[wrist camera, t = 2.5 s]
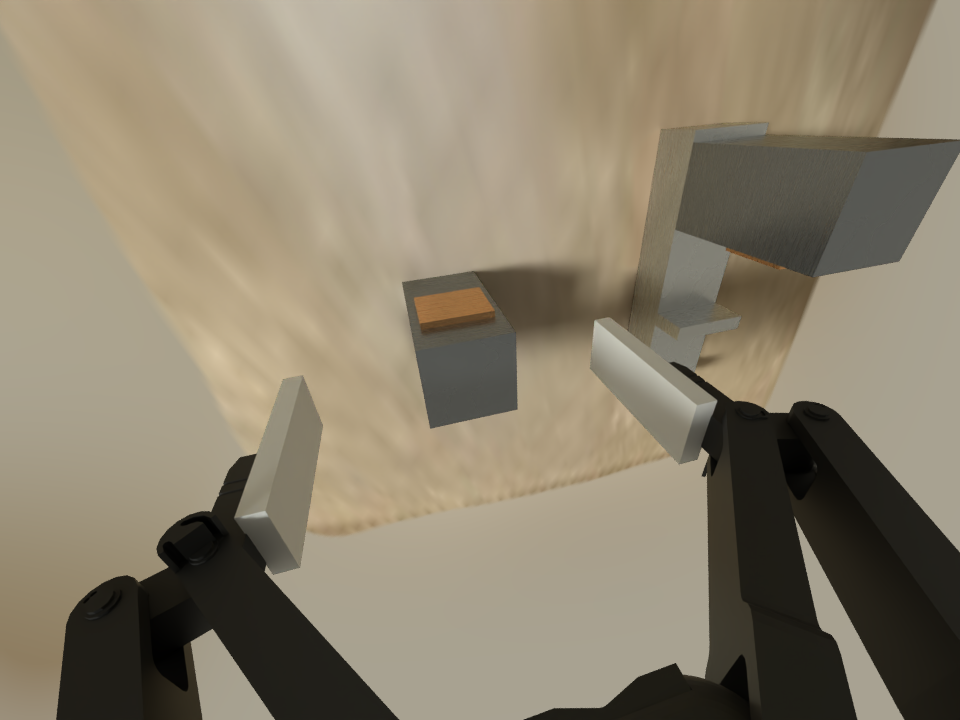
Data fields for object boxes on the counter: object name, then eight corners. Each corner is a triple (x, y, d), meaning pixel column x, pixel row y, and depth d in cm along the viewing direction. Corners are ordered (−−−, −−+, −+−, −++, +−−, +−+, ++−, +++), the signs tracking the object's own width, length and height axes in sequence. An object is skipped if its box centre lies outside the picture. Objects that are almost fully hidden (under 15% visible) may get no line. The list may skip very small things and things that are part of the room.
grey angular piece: (661, 129, 19) (875, 132, 11) (727, 122, 20) (976, 121, 12) (620, 378, 28) (722, 483, 20) (667, 368, 29) (785, 466, 20)
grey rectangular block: (401, 277, 20) (414, 344, 14) (473, 266, 21) (515, 325, 15) (414, 345, 22) (430, 428, 16) (478, 333, 23) (517, 409, 17)
